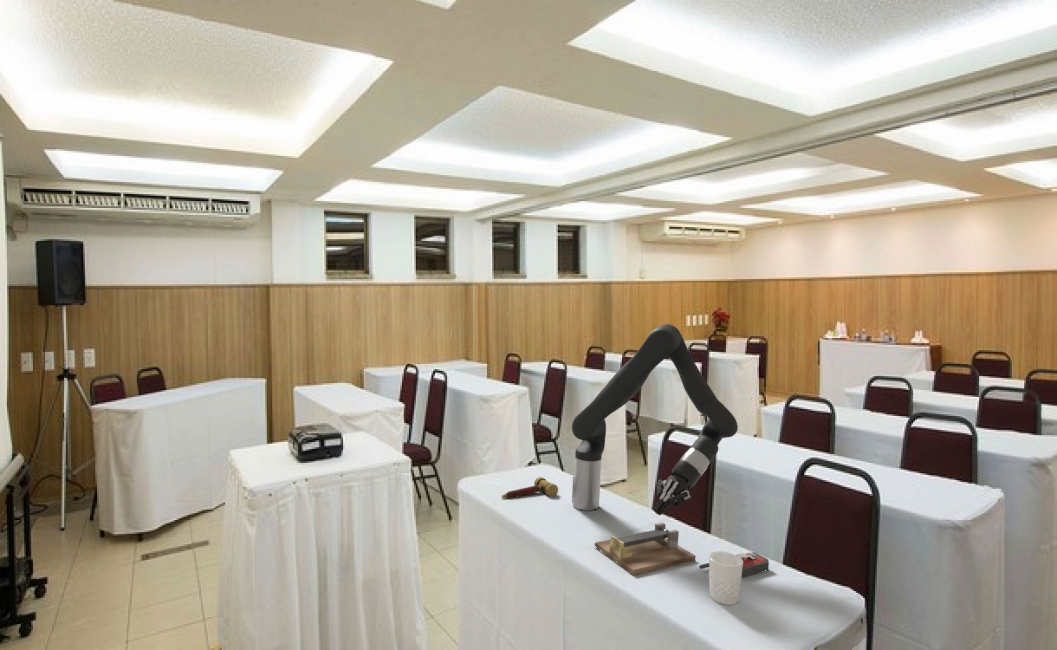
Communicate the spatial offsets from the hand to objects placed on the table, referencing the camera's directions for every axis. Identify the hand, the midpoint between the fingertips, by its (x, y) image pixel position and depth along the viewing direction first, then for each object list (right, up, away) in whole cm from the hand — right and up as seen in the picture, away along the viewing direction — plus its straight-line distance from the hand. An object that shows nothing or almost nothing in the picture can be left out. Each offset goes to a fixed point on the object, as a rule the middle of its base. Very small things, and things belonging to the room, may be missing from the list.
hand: (656, 512), depth 163 cm
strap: (-4, -7, -1) cm, 8 cm away
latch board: (-4, -11, -1) cm, 12 cm away
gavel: (-38, -9, +44) cm, 59 cm away
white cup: (+11, -13, -24) cm, 30 cm away
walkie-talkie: (+20, -13, -8) cm, 25 cm away
